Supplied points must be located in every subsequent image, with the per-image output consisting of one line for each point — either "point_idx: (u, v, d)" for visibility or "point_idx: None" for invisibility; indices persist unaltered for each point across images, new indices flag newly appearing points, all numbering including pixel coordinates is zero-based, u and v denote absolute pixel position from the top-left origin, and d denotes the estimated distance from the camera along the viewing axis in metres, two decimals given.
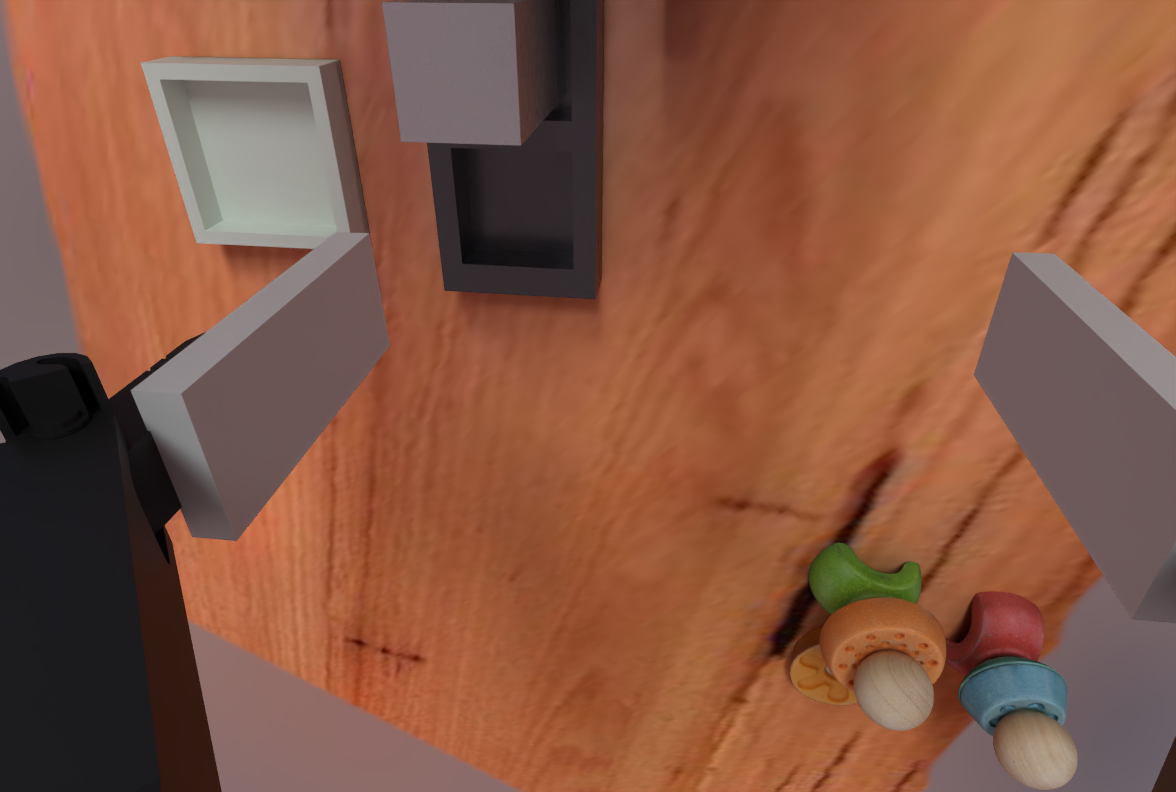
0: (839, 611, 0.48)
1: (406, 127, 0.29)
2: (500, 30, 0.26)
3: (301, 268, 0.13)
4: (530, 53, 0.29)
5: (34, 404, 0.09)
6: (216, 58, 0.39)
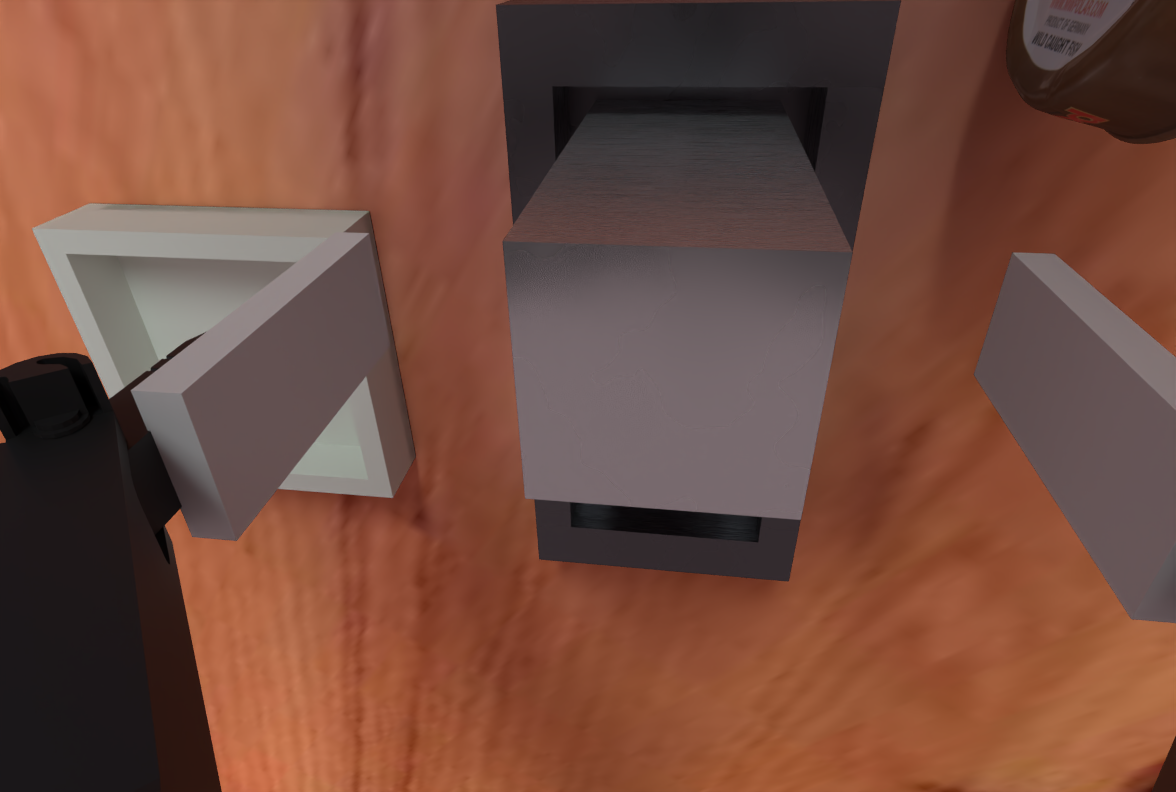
0: None
1: (539, 475, 0.13)
2: (801, 309, 0.10)
3: (301, 268, 0.13)
4: None
5: (34, 404, 0.09)
6: (164, 209, 0.23)
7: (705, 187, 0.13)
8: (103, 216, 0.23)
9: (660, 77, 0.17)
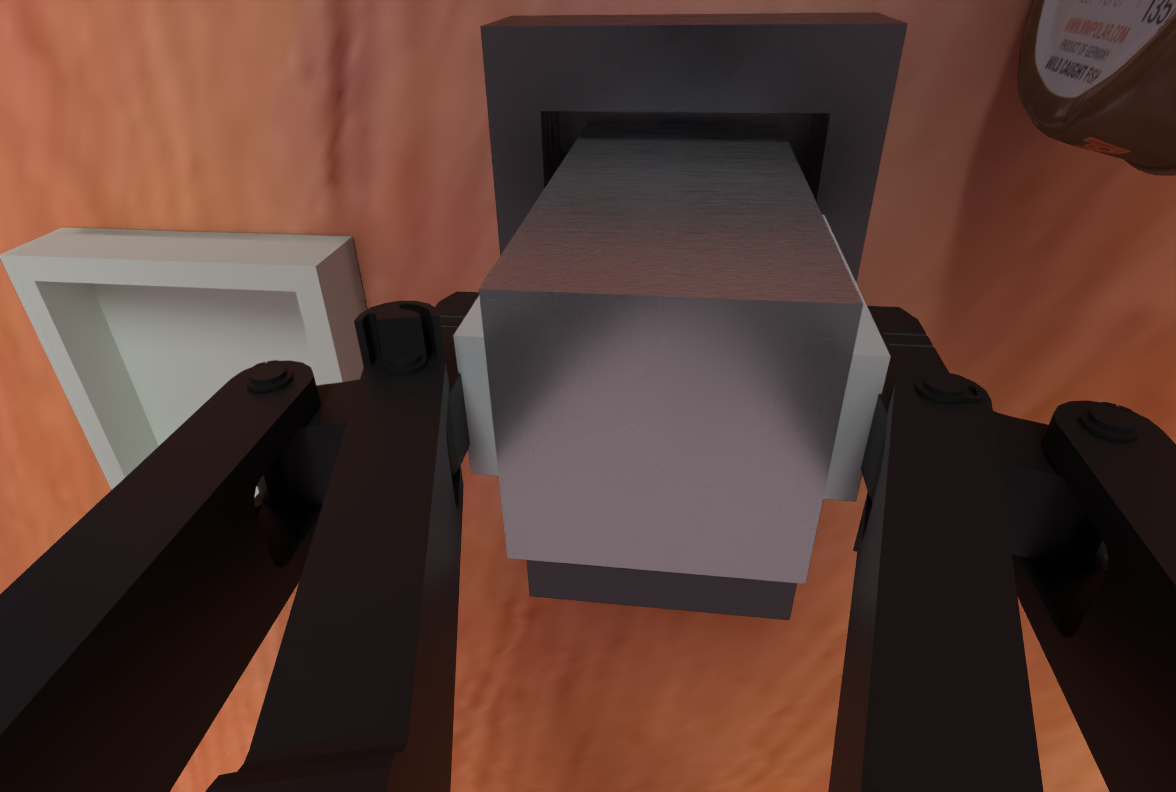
0: None
1: (522, 534, 0.12)
2: (806, 363, 0.09)
3: None
4: None
5: (390, 343, 0.10)
6: (138, 234, 0.23)
7: (701, 224, 0.12)
8: (74, 241, 0.22)
9: (654, 102, 0.16)
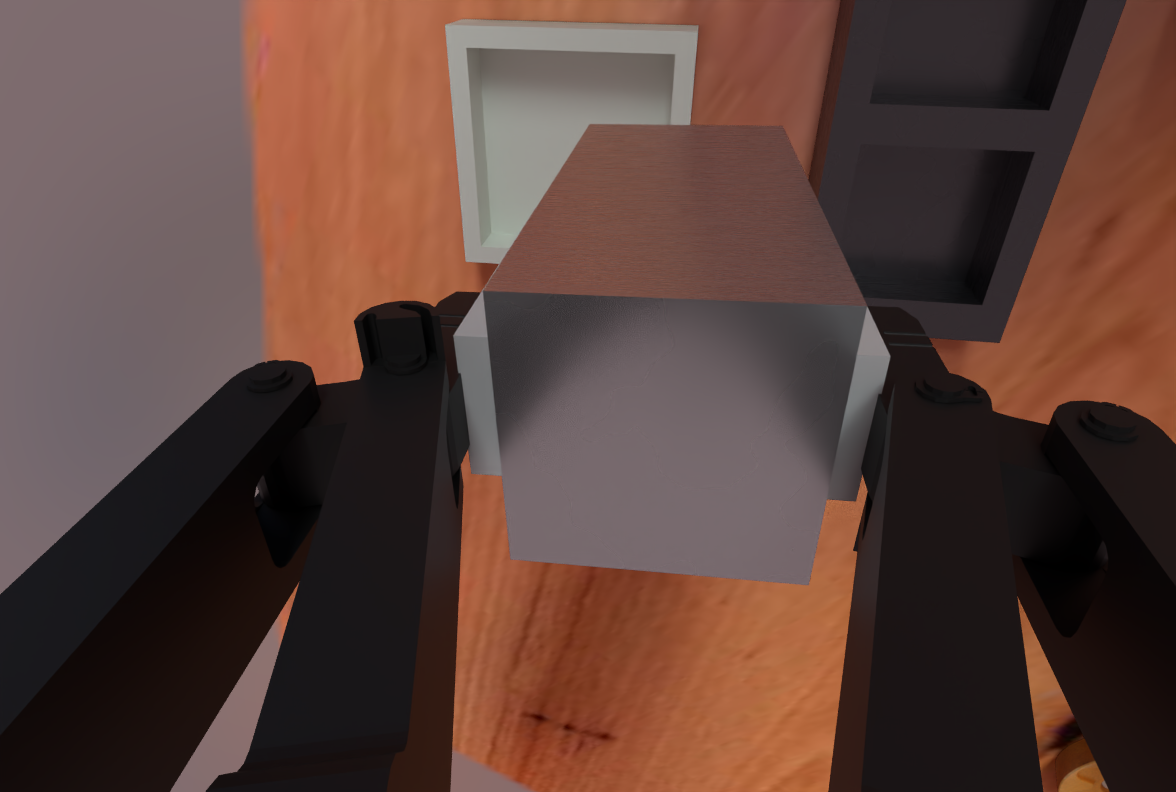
0: None
1: (525, 536, 0.12)
2: (810, 365, 0.10)
3: None
4: None
5: (389, 342, 0.10)
6: (530, 21, 0.30)
7: (704, 225, 0.12)
8: (489, 22, 0.29)
9: None
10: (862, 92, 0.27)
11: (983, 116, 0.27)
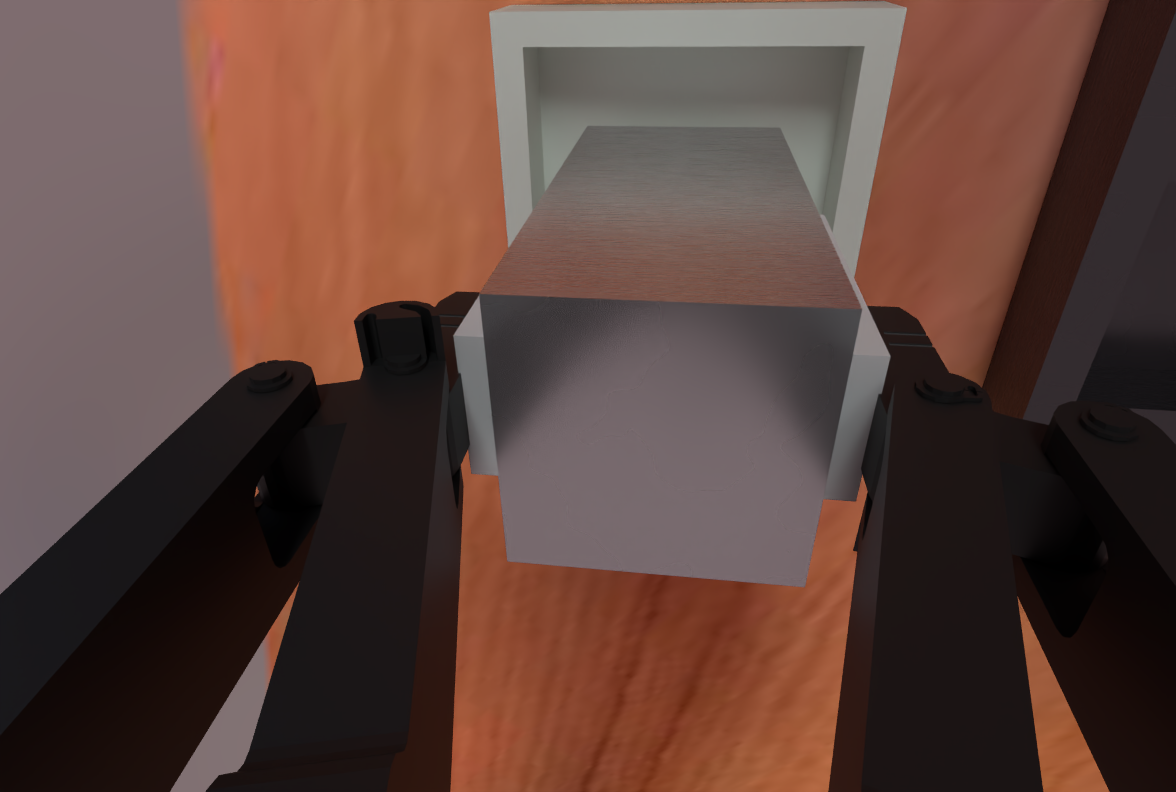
0: None
1: (522, 538, 0.12)
2: (805, 368, 0.10)
3: None
4: None
5: (390, 342, 0.10)
6: (618, 4, 0.19)
7: (700, 228, 0.12)
8: (556, 7, 0.19)
9: None
10: None
11: None
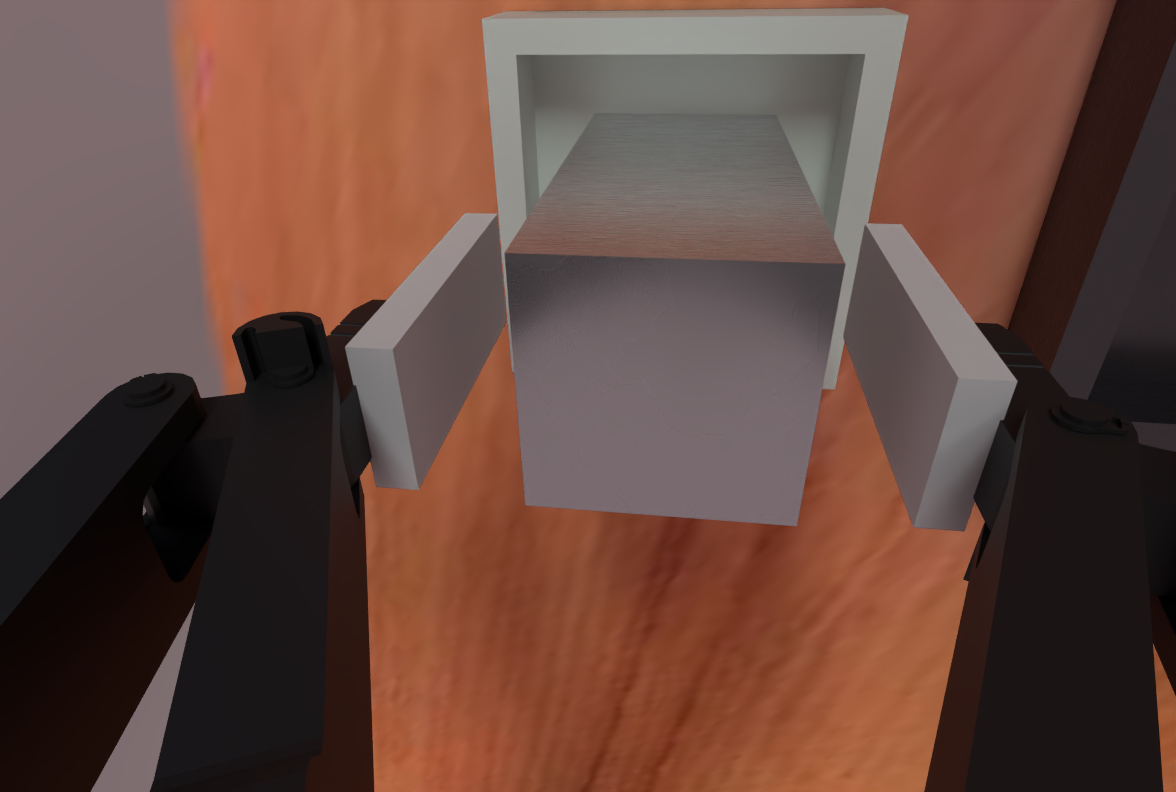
0: None
1: (539, 483, 0.13)
2: (796, 319, 0.11)
3: (448, 244, 0.14)
4: None
5: (272, 355, 0.10)
6: (613, 11, 0.19)
7: (702, 199, 0.13)
8: (550, 14, 0.18)
9: None
10: None
11: None
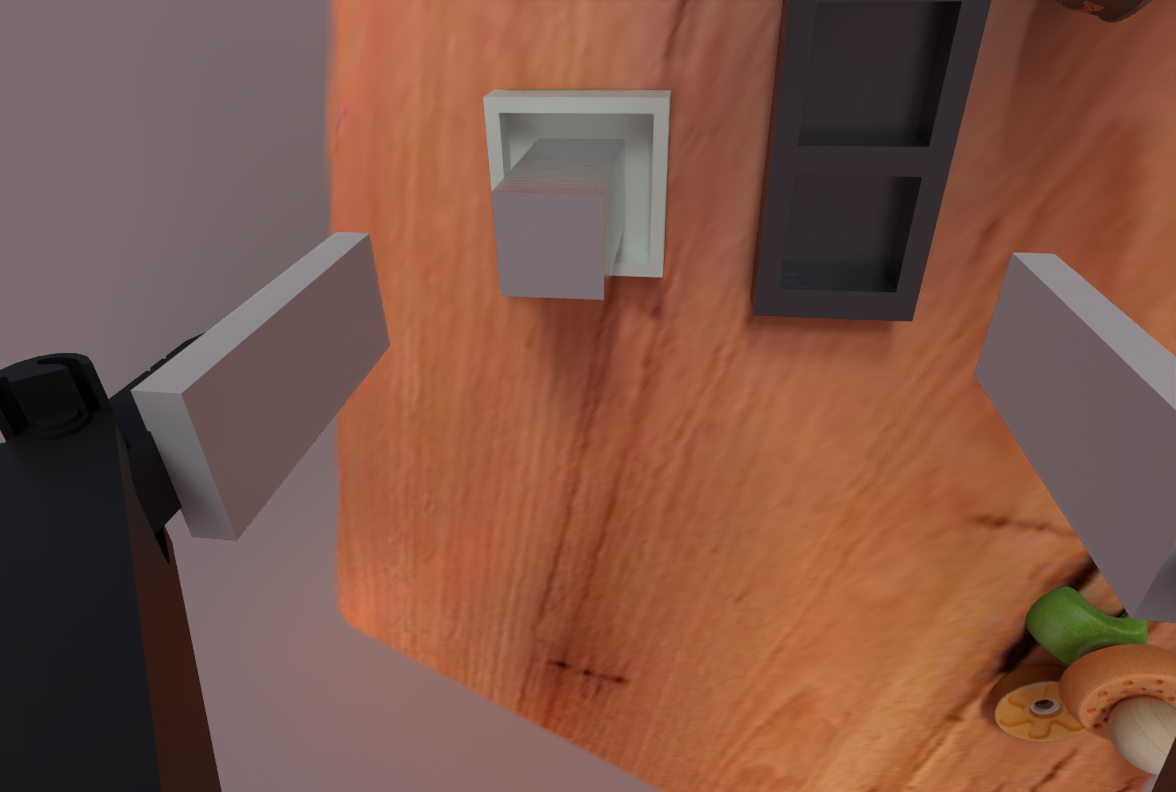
0: (1088, 656, 0.49)
1: (506, 285, 0.34)
2: (590, 214, 0.31)
3: (301, 268, 0.13)
4: (609, 219, 0.34)
5: (34, 404, 0.09)
6: (545, 90, 0.40)
7: (567, 175, 0.34)
8: (515, 93, 0.39)
9: None
10: (792, 137, 0.37)
11: (881, 152, 0.36)
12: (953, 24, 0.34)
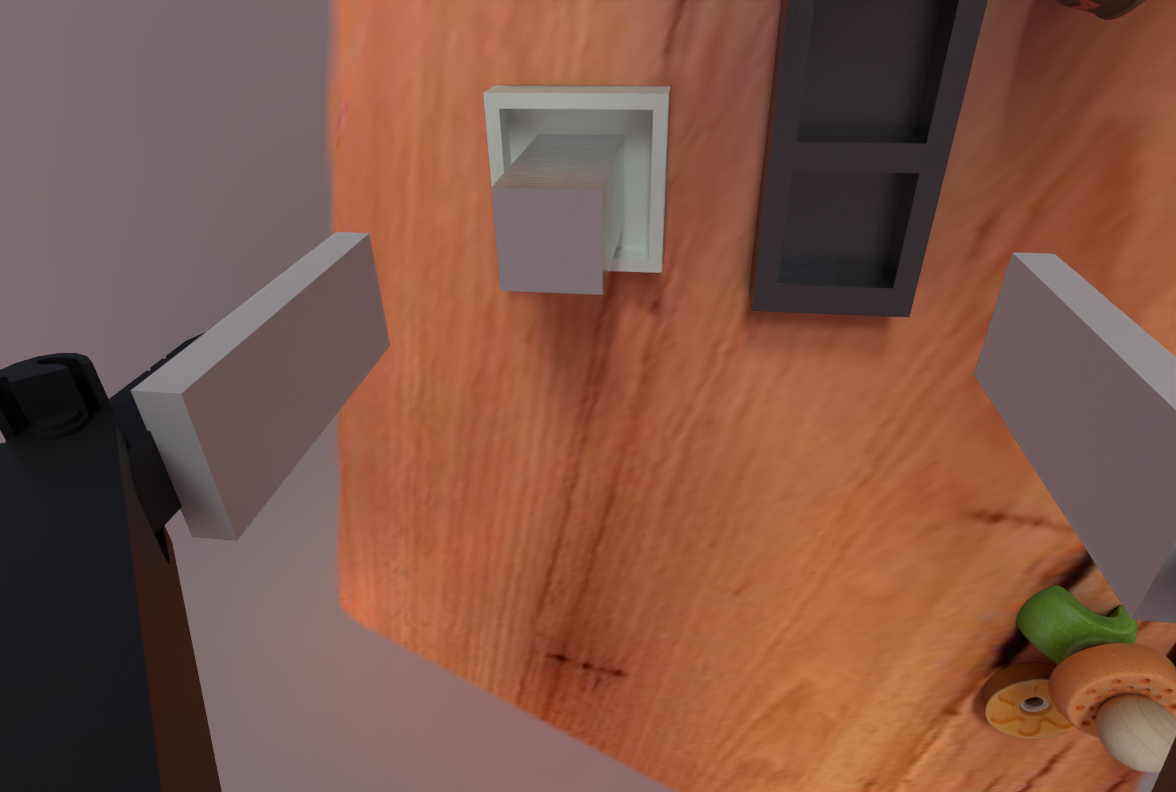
0: (1077, 655, 0.50)
1: (505, 280, 0.34)
2: (589, 209, 0.32)
3: (301, 268, 0.13)
4: (608, 214, 0.34)
5: (34, 404, 0.09)
6: (545, 86, 0.40)
7: (567, 171, 0.34)
8: (515, 89, 0.39)
9: None
10: (790, 134, 0.37)
11: (879, 148, 0.37)
12: (950, 21, 0.34)
